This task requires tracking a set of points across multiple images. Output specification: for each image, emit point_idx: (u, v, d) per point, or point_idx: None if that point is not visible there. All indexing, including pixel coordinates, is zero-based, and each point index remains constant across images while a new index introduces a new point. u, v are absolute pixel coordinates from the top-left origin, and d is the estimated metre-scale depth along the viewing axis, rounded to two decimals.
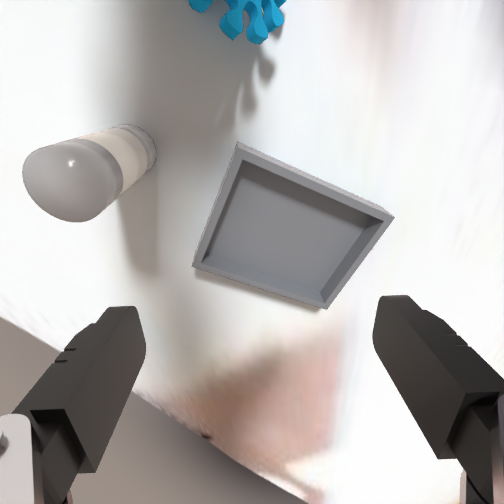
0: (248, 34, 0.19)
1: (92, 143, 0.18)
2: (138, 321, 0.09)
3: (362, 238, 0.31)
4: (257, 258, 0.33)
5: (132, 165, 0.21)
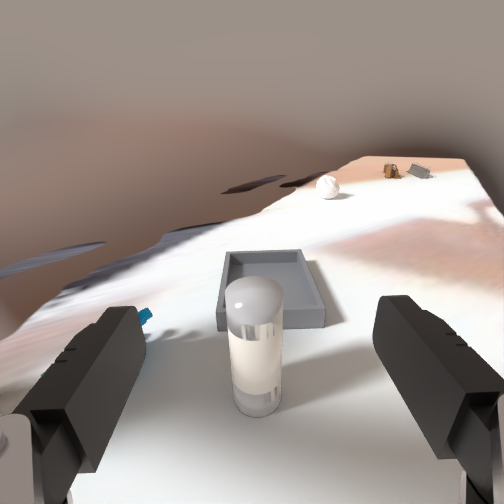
0: (148, 316, 0.31)
1: None
2: (138, 321, 0.09)
3: (247, 259, 0.49)
4: (295, 292, 0.41)
5: None
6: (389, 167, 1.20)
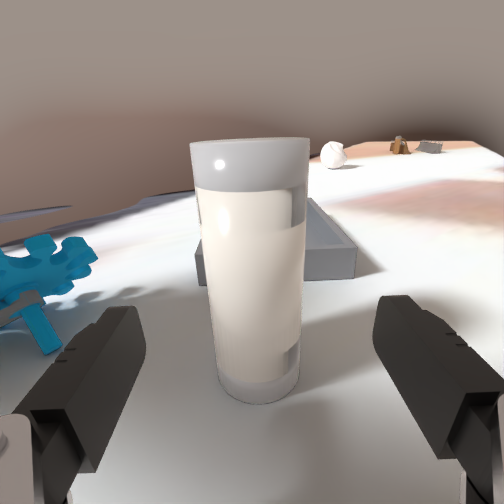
0: (87, 254, 0.20)
1: None
2: (138, 321, 0.09)
3: None
4: (308, 241, 0.30)
5: None
6: (398, 142, 1.10)
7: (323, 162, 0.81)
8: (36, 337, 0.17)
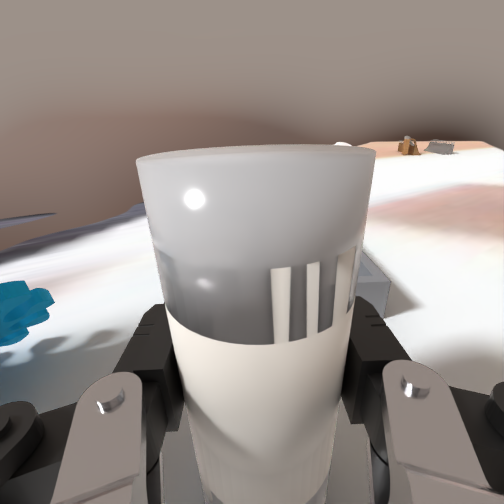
0: (36, 301, 0.14)
1: None
2: None
3: None
4: None
5: None
6: (407, 142, 1.05)
7: None
8: None
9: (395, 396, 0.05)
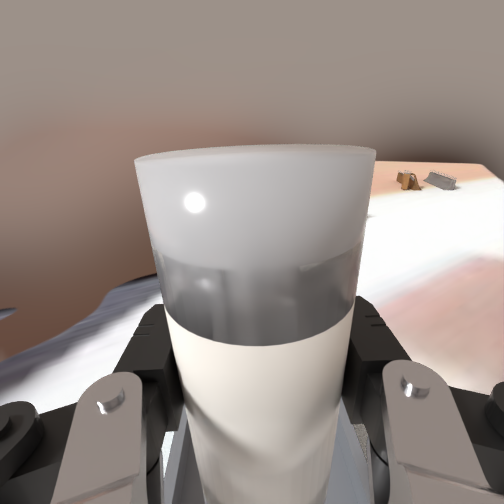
0: None
1: None
2: None
3: None
4: None
5: None
6: (407, 177, 1.00)
7: None
8: None
9: (395, 396, 0.05)
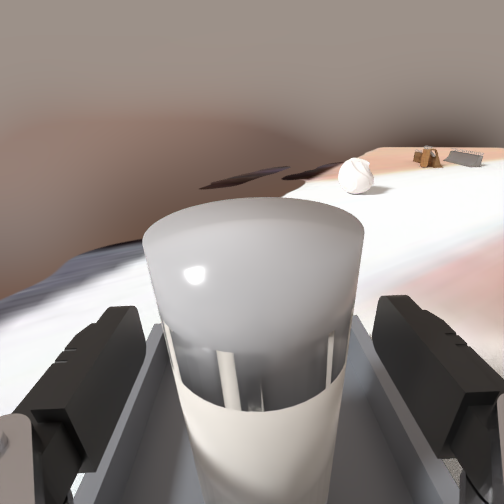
0: None
1: None
2: (138, 321, 0.09)
3: None
4: None
5: None
6: (427, 152, 0.90)
7: (342, 185, 0.61)
8: None
9: None
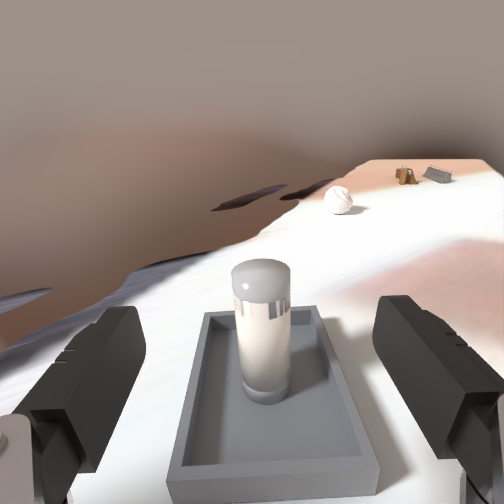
0: None
1: None
2: (138, 321, 0.09)
3: None
4: (314, 396, 0.24)
5: None
6: (404, 172, 1.05)
7: (327, 207, 0.76)
8: None
9: None
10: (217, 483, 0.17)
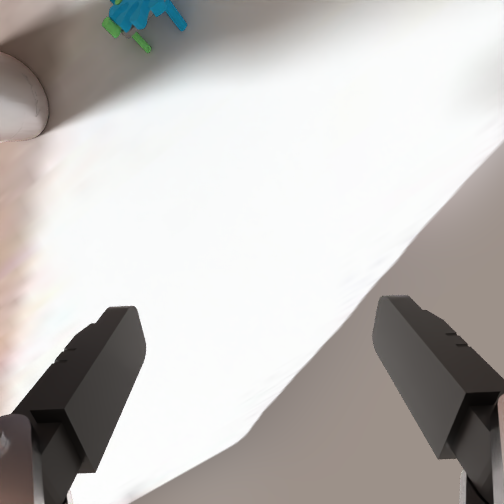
0: None
1: None
2: (138, 321, 0.09)
3: None
4: None
5: None
6: None
7: None
8: (174, 21, 0.29)
9: None
10: None
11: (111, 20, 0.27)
